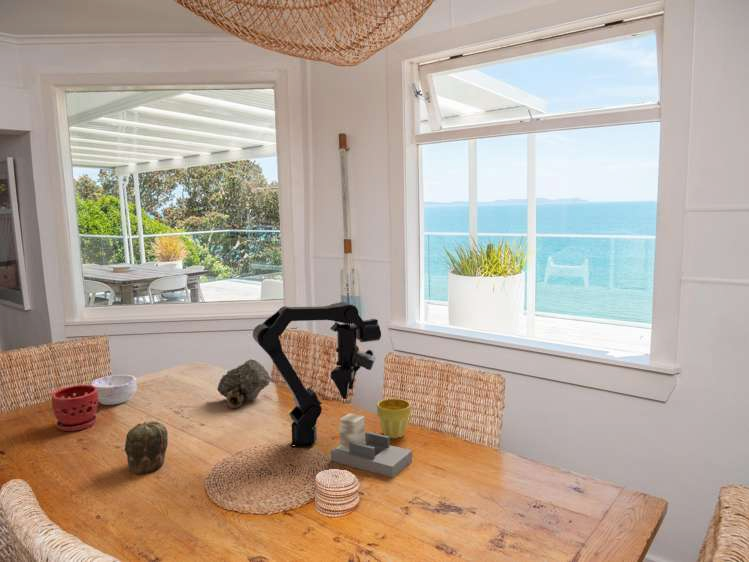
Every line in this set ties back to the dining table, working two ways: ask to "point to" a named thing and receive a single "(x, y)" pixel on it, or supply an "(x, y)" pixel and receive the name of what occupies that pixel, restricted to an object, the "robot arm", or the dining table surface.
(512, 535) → the dining table surface
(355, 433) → the cream block
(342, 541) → the dining table surface
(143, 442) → the olive lumpy chunk
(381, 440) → the tunnel deck
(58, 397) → the plant pot
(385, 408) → the plant pot
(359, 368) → the robot arm
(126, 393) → the white bowl
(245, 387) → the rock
